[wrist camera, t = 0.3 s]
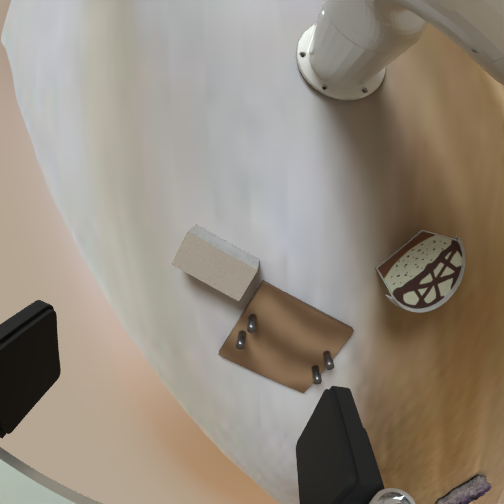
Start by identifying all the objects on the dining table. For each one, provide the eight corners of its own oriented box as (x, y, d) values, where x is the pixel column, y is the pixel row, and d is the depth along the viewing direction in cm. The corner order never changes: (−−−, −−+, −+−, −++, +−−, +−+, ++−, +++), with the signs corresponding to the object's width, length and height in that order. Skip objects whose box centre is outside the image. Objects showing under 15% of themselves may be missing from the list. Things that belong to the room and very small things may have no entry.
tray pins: (251, 312, 45) (249, 324, 41) (331, 352, 46) (335, 365, 43) (236, 334, 46) (234, 347, 43) (316, 371, 47) (318, 385, 44)
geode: (439, 506, 65) (444, 525, 55) (431, 497, 64) (436, 517, 55) (487, 477, 60) (495, 495, 50) (482, 466, 59) (491, 485, 50)
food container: (387, 302, 44) (411, 334, 35) (367, 274, 43) (390, 301, 34) (445, 254, 42) (480, 275, 32) (429, 223, 41) (464, 238, 31)
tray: (262, 280, 45) (262, 283, 43) (352, 327, 46) (353, 331, 45) (219, 350, 48) (218, 354, 47) (303, 388, 49) (303, 392, 48)
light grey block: (196, 224, 43) (187, 231, 38) (259, 258, 44) (257, 270, 39) (181, 253, 44) (171, 264, 40) (242, 287, 45) (239, 301, 40)
